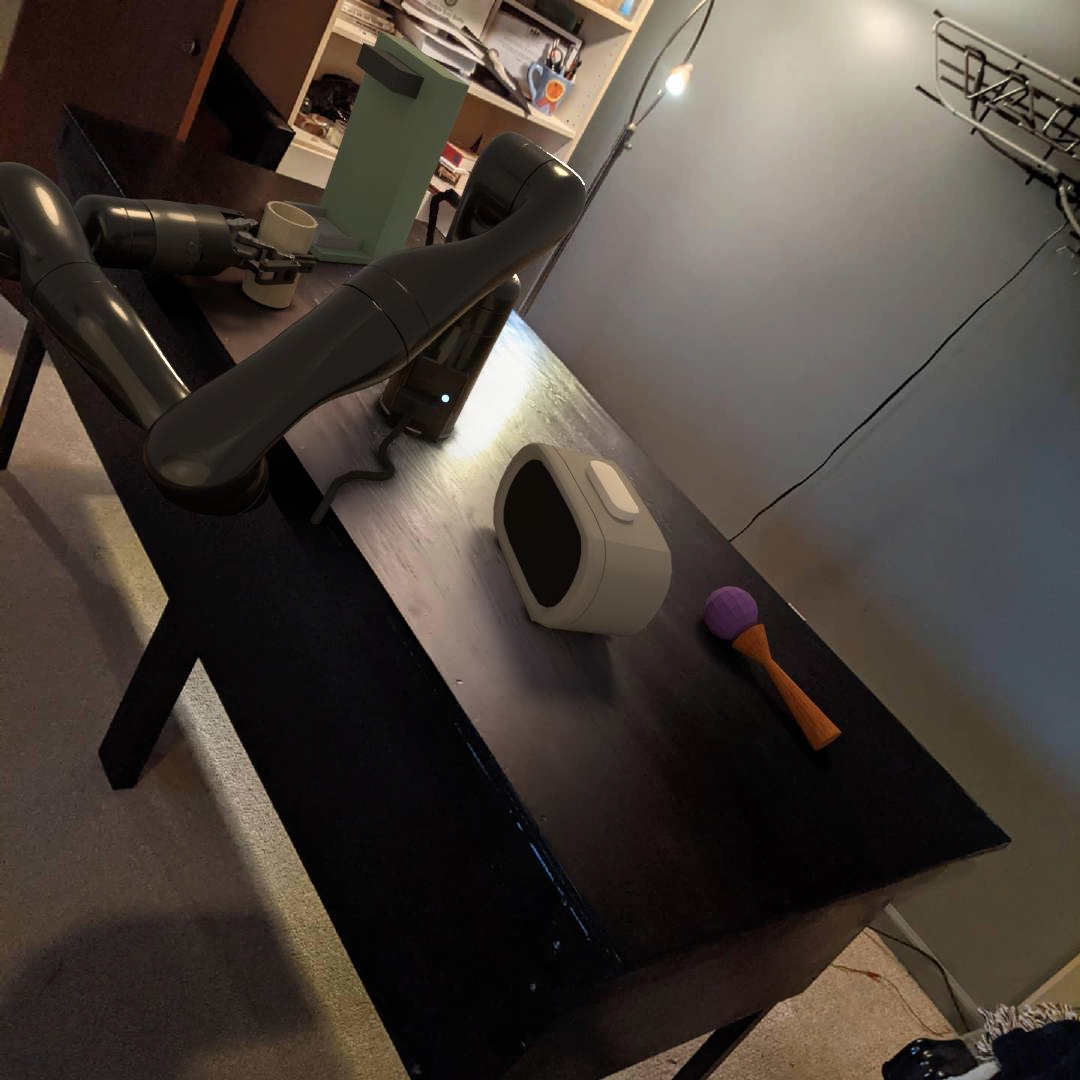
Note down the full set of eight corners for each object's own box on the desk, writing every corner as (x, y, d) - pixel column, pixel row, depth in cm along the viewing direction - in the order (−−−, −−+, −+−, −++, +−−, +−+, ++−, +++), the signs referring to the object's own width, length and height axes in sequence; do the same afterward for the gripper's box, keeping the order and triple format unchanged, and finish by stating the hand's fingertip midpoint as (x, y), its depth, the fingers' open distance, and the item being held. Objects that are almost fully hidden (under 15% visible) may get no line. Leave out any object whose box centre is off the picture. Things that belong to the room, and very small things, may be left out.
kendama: (826, 735, 83) (709, 581, 93) (793, 764, 87) (684, 613, 96) (862, 718, 86) (745, 571, 96) (828, 747, 90) (720, 603, 100)
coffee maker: (319, 260, 124) (392, 57, 109) (263, 211, 128) (326, 9, 113) (395, 266, 137) (470, 85, 122) (342, 221, 141) (407, 41, 126)
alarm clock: (478, 512, 92) (534, 412, 85) (551, 526, 97) (608, 433, 90) (537, 655, 78) (610, 549, 71) (618, 663, 83) (693, 564, 76)
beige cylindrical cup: (283, 313, 105) (311, 232, 100) (236, 292, 103) (261, 208, 98) (294, 297, 110) (321, 219, 104) (248, 276, 108) (274, 196, 103)
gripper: (133, 235, 96) (255, 246, 110) (204, 305, 91) (322, 308, 105) (147, 172, 92) (272, 191, 106) (222, 242, 88) (343, 253, 101)
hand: (296, 249), depth 105 cm, fingers closed on beige cylindrical cup, 6 cm apart
